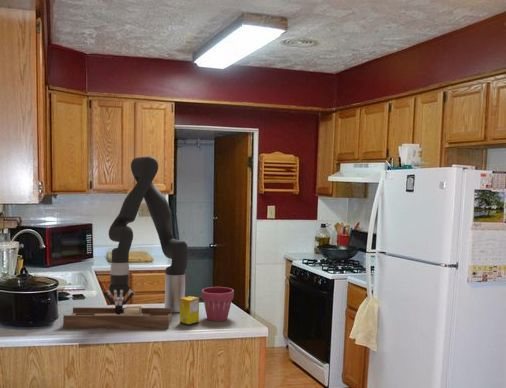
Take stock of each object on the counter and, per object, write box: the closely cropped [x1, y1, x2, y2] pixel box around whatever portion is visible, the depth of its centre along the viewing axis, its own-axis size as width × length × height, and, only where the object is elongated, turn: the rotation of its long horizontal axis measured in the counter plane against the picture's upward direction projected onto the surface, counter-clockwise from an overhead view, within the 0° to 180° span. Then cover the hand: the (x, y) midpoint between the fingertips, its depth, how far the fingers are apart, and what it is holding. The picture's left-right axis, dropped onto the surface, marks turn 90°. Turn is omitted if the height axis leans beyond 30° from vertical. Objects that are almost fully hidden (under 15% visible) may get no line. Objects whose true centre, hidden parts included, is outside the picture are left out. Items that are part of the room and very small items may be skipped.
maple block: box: [124, 305, 142, 316], centre depth 205 cm, size 6×6×4 cm
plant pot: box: [201, 286, 235, 322], centre depth 218 cm, size 14×14×13 cm
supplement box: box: [179, 295, 200, 327], centre depth 209 cm, size 6×6×11 cm
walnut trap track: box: [62, 306, 173, 330], centre depth 205 cm, size 14×42×5 cm, turn 94°
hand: (118, 314), depth 205 cm, fingers closed
